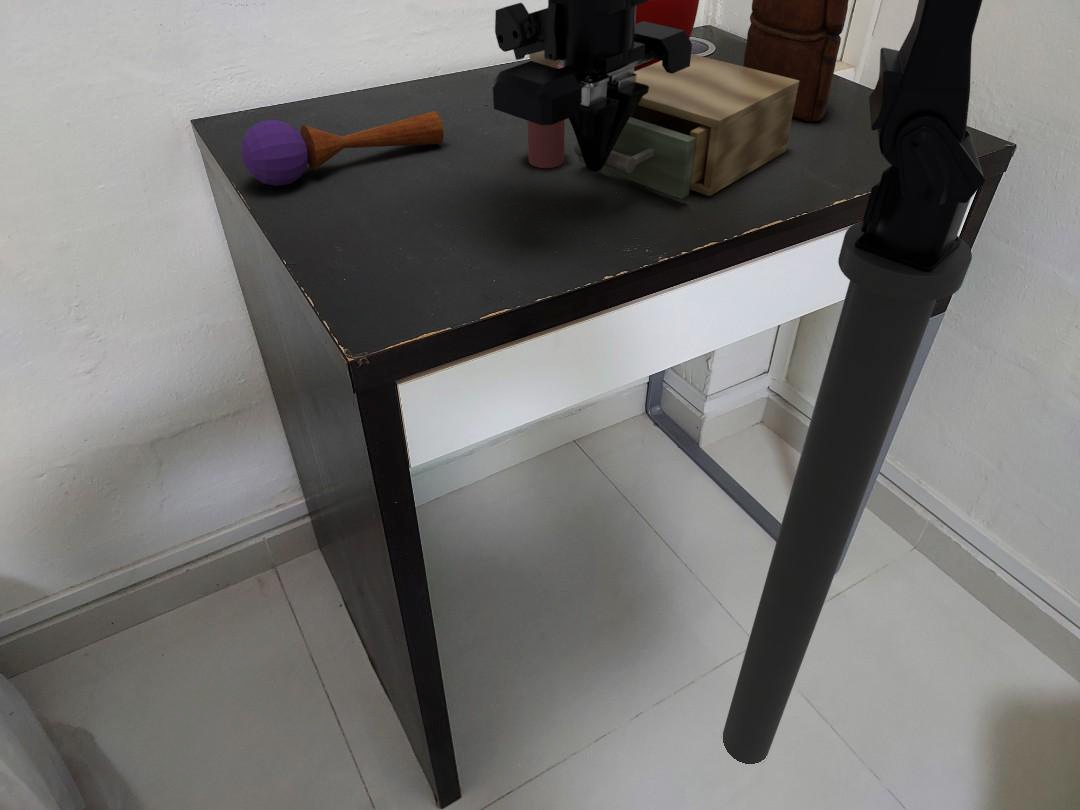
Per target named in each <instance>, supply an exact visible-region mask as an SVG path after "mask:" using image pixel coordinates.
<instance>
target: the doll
mask: <svg viewBox="0 0 1080 810" xmlns="http://www.w3.org/2000/svg"><path fill="white" fill-rule="evenodd" d="M528 57H529V60H530V61H533V62H537V63H540V64H544V65H547V66H551V67H554V68H558V69H560V68H562V67H564V65H563V64H560V63H561V60H556V61H553V60H550V59H546V58H544V51H540V52H536V53H532V54H528ZM527 147H528V148H527V151H528V154H527V155H528V163H529V164H530V165H531V166H533V167H534V168H540V169H553V168H557V167H560V166H561V165H563V164H564V163H565V120H562V121H560V122H558V123H555V124H553V125H539V124H536V123H533V122H530V121H528V120H527Z"/></svg>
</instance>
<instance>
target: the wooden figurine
mask: <svg viewBox="0 0 1080 810" xmlns="http://www.w3.org/2000/svg"><path fill="white" fill-rule="evenodd" d="M849 2H850V0H752V2H751V14H750V15H749V21H750V25H749V27H748V29H747V35H746V44H745V49H744V55H743V67H747V68H751V69H755V70H759V71H763V72H767V73H771V74H775V75H779V76H783V77H787V78H791V79H795V80H799V85H798V89H797V95H796V100H795V105H794V110H793V115H792V118H796V119H799V120H802V121H805V122H818V121H821V120H822V119H823V118H824V116H825V114H826V111H827V107H828V103H829V98H830V93H831V90H832V89H831V88H832V83H833V78H834V74H835V70H836V62H837V60H838V54H839V51H840V46H841V42H842V37H841V34H842V33H843V31H844V27H845V23H846V20H847V19H846V18H847V14H848V10H849Z"/></svg>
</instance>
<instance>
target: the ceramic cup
mask: <svg viewBox="0 0 1080 810" xmlns="http://www.w3.org/2000/svg"><path fill="white" fill-rule="evenodd" d="M699 3H700V0H648V2H645V3H642V4H639V5H636V18H635V24H637V23H640V22H643V21H645V22H649V23H653V24H658V25H662V26H667V27H671V28H675V29H680V30H684V31H685V32H686V34H687V36H688V38H689V39H690V38H691V35H692V33H693V30H694V27H695V22H696V19H697V14H698V9H699ZM660 61H662V60H658V59H653V60H651V61H648V62H646V63H643V64H641V65H638V66H636V67H634V72H635V71H637V70H640V69H642V68H645V67H647V66H650V65H652V64H655V63H657V62H660Z"/></svg>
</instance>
